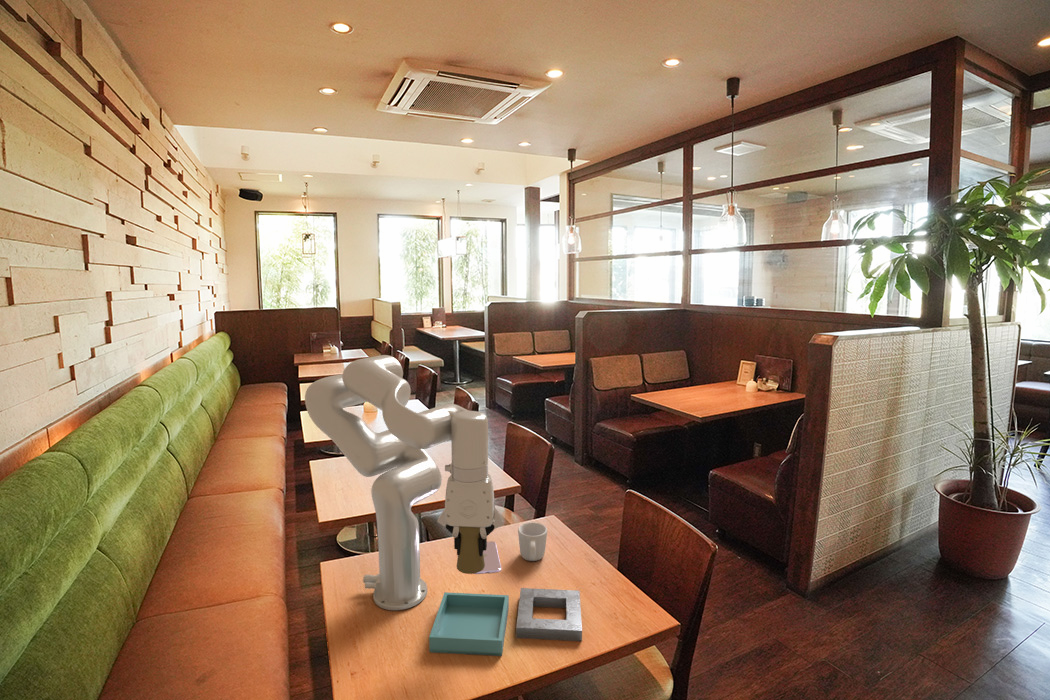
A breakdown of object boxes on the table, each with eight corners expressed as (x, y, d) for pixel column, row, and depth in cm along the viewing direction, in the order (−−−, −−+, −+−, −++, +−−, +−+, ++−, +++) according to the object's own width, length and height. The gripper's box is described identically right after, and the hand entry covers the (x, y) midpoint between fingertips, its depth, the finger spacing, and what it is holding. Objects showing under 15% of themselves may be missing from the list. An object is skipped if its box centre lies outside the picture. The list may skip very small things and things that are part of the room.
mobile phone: (472, 572, 137) (469, 542, 152) (472, 575, 138) (469, 545, 152) (502, 569, 139) (495, 539, 153) (502, 572, 139) (495, 543, 153)
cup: (547, 570, 139) (548, 542, 138) (517, 570, 139) (517, 541, 138) (546, 548, 150) (546, 522, 149) (518, 548, 150) (518, 521, 149)
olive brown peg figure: (480, 575, 111) (480, 526, 109) (452, 571, 112) (451, 523, 110) (488, 559, 117) (488, 512, 115) (461, 556, 118) (461, 509, 116)
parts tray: (429, 652, 110) (429, 637, 109) (444, 605, 125) (444, 592, 124) (501, 656, 109) (501, 640, 108) (508, 608, 124) (508, 595, 123)
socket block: (516, 637, 114) (516, 627, 114) (520, 597, 128) (520, 587, 128) (581, 641, 114) (582, 630, 113) (579, 600, 127) (579, 590, 127)
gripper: (425, 476, 108) (427, 560, 111) (508, 479, 107) (508, 563, 110) (434, 463, 115) (435, 541, 118) (511, 465, 114) (511, 544, 117)
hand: (470, 551), depth 114 cm, fingers closed on olive brown peg figure, 4 cm apart
